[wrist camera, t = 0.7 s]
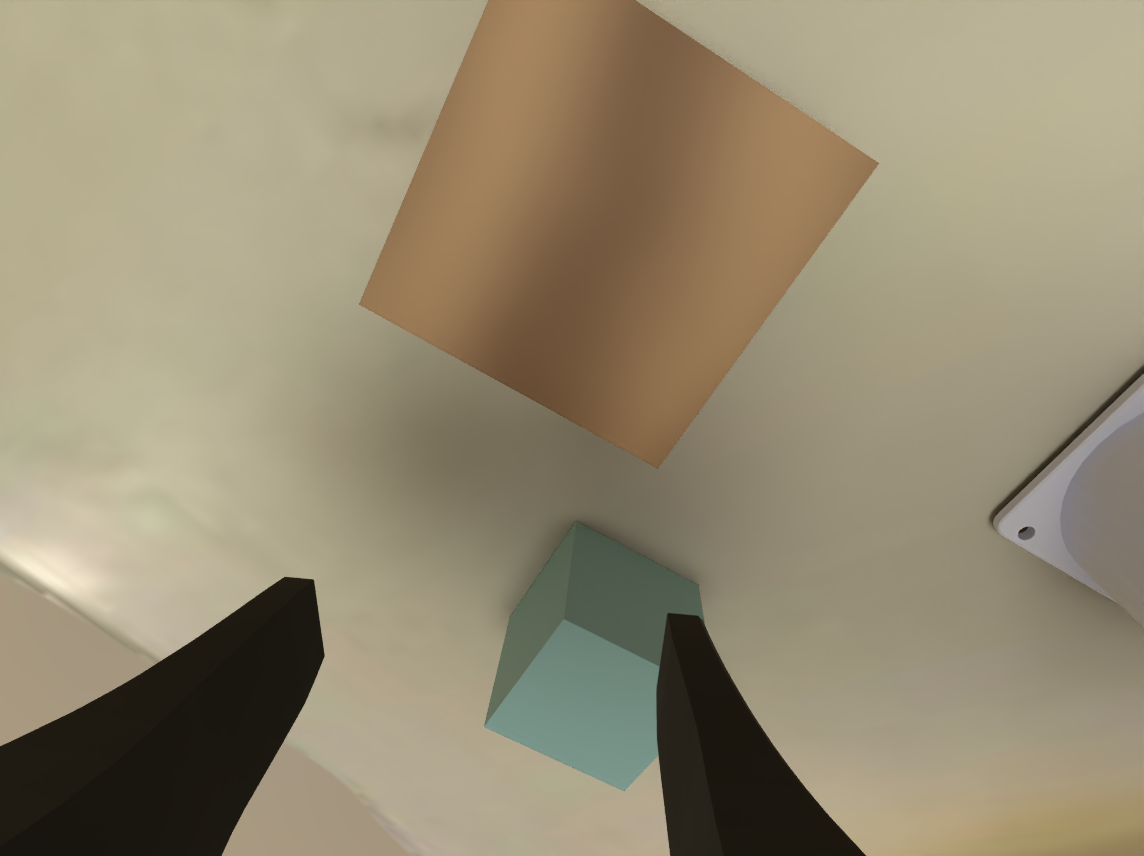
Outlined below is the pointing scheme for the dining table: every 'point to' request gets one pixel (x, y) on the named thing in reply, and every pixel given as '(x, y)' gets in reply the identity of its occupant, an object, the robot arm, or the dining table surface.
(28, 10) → the dining table surface
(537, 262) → the walnut block
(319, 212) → the dining table surface
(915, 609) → the dining table surface
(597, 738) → the teal cube
